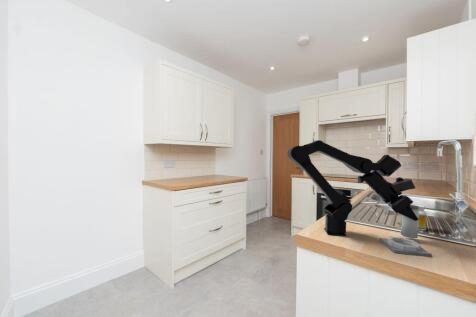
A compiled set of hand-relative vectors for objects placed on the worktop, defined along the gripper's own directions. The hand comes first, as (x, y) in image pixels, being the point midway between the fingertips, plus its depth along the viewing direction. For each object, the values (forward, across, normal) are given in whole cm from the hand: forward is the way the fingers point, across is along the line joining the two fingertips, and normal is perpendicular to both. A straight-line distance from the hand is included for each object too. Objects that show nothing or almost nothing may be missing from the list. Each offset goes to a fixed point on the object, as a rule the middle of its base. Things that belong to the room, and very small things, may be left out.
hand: (414, 218), depth 74 cm
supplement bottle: (+10, +17, +2) cm, 19 cm away
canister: (+4, 0, +6) cm, 7 cm away
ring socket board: (+2, -9, +9) cm, 13 cm away
